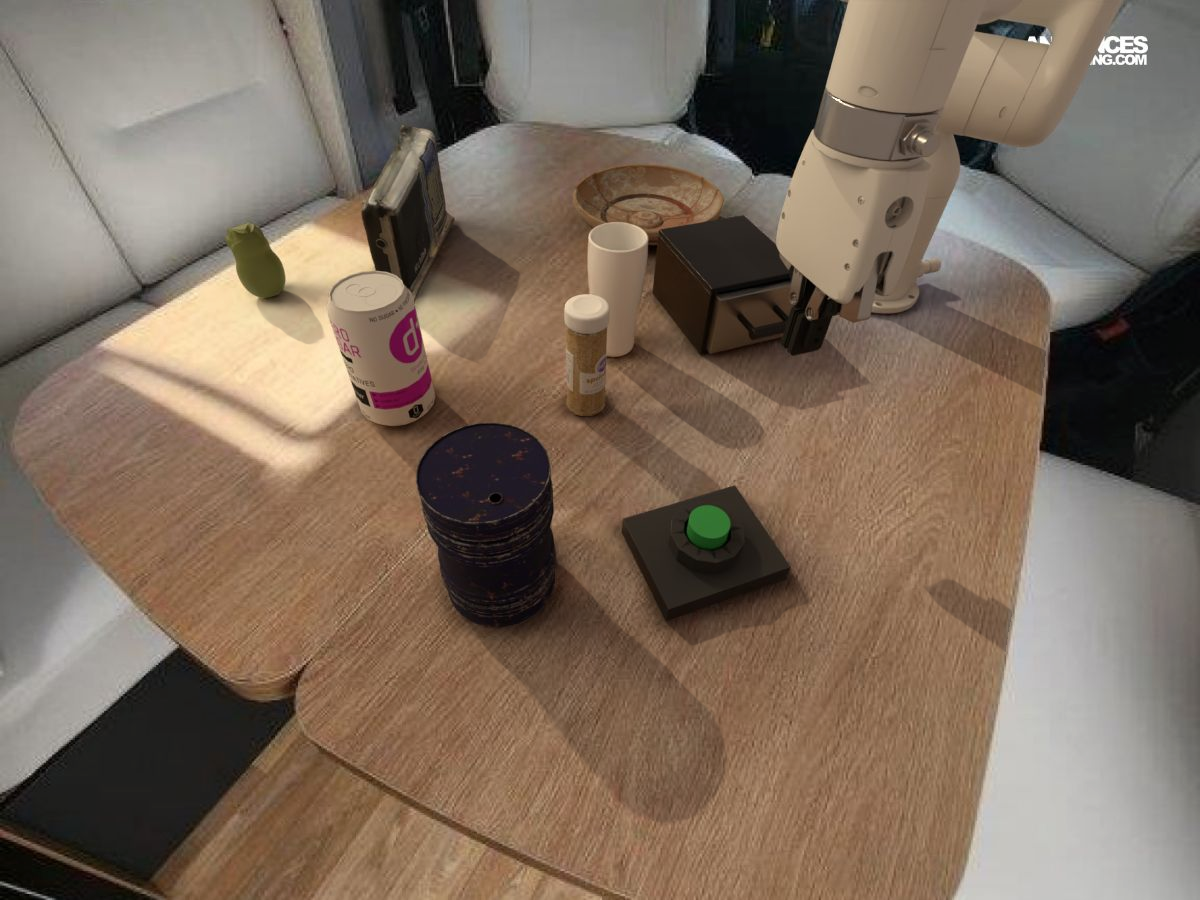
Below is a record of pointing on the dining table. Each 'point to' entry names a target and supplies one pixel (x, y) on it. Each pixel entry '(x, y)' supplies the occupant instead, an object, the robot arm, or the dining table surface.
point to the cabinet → (710, 269)
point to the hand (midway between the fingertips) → (800, 347)
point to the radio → (407, 210)
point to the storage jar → (491, 521)
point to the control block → (702, 555)
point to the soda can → (382, 346)
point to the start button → (708, 527)
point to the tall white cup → (618, 278)
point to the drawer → (749, 315)
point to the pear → (256, 261)
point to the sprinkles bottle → (586, 353)
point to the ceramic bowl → (647, 198)
